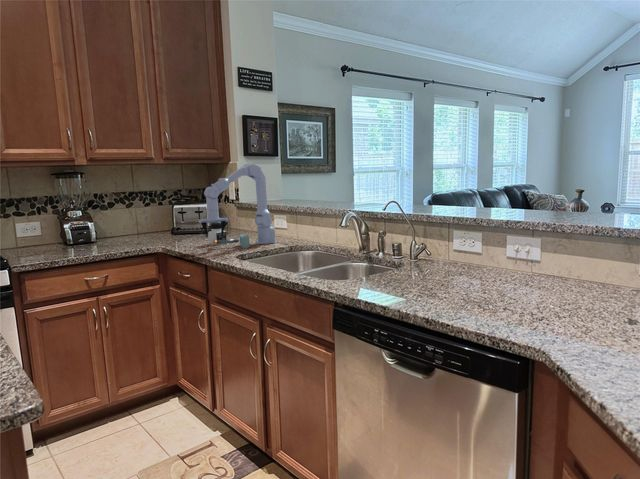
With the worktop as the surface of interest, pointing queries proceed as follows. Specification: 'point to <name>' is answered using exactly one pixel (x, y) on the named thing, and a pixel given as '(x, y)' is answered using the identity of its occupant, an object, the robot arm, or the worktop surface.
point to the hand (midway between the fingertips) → (214, 236)
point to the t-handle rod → (224, 241)
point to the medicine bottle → (216, 233)
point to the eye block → (244, 241)
